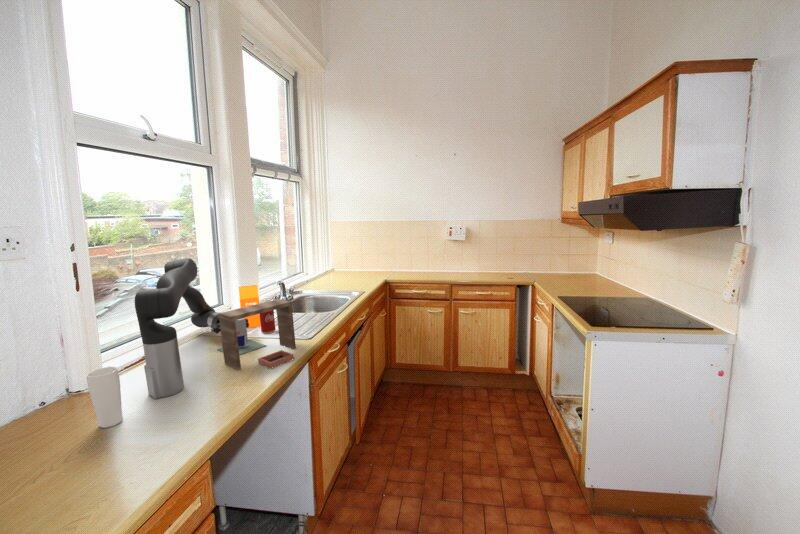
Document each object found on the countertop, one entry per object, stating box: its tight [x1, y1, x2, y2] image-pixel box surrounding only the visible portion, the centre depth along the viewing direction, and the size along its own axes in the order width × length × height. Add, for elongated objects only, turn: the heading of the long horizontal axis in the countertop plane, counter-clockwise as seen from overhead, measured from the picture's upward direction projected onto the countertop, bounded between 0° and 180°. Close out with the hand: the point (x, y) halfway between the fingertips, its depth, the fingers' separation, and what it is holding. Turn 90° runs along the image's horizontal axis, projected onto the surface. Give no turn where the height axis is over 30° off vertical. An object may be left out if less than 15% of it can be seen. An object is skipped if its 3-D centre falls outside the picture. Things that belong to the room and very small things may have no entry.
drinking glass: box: [86, 366, 124, 429], centre depth 105 cm, size 7×7×15 cm
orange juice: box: [238, 284, 261, 329], centre depth 191 cm, size 8×9×20 cm
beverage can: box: [259, 310, 276, 335], centre depth 179 cm, size 6×6×12 cm
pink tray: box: [257, 349, 295, 369], centre depth 144 cm, size 10×8×2 cm
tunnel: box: [218, 298, 297, 371], centre depth 149 cm, size 25×9×20 cm, turn 140°
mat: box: [216, 339, 267, 356], centre depth 160 cm, size 14×14×1 cm
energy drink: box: [235, 318, 248, 349], centre depth 159 cm, size 5×5×12 cm
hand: (238, 328), depth 160 cm, fingers open, 8 cm apart
